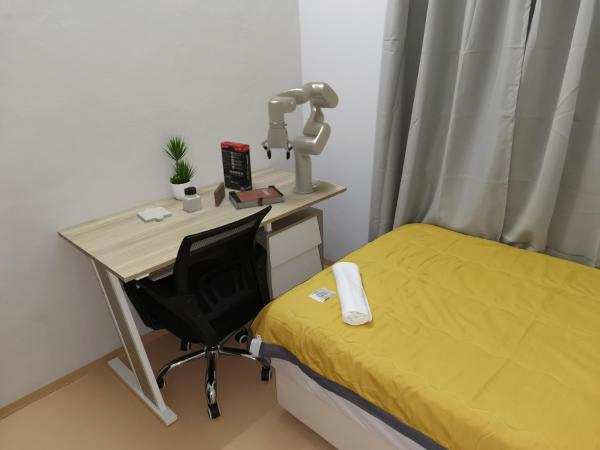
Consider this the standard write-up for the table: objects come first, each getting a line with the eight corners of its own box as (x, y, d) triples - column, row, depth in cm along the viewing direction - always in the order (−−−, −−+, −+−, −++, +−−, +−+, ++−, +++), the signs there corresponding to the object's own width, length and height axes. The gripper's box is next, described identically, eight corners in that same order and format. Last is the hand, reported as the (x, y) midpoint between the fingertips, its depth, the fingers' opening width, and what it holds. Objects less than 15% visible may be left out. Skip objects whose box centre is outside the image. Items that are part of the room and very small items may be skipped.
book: (237, 211, 207) (236, 202, 205) (229, 200, 222) (228, 191, 220) (284, 203, 216) (284, 194, 214) (273, 193, 231) (273, 185, 229)
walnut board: (225, 195, 227) (224, 182, 224) (218, 206, 212) (216, 192, 208) (222, 195, 227) (221, 182, 224) (215, 206, 212) (213, 192, 209)
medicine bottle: (202, 208, 209) (199, 187, 204) (190, 212, 205) (187, 190, 200) (194, 205, 214) (191, 184, 209) (183, 209, 209) (179, 187, 204)
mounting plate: (135, 214, 205) (134, 211, 204) (160, 208, 212) (159, 204, 211) (148, 225, 192) (147, 221, 191) (174, 218, 200) (173, 214, 199)
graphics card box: (253, 189, 237) (250, 143, 226) (246, 192, 231) (242, 146, 220) (231, 184, 245) (227, 140, 234) (223, 187, 240) (219, 142, 229)
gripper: (295, 123, 199) (296, 157, 207) (262, 123, 203) (264, 156, 210) (292, 127, 193) (293, 161, 200) (257, 126, 196) (260, 160, 204)
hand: (278, 158), depth 205 cm, fingers open, 9 cm apart
